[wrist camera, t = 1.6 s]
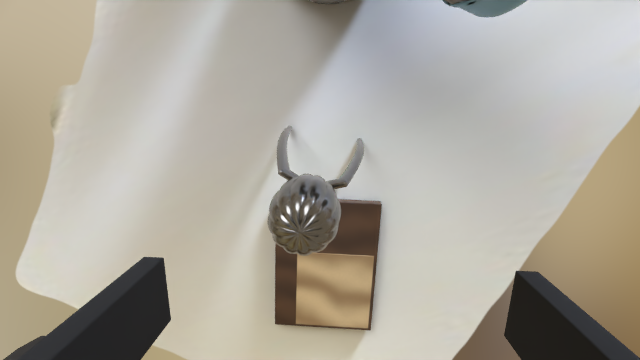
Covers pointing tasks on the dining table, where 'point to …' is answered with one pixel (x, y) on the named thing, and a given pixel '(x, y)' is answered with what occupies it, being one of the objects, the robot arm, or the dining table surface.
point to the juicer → (307, 204)
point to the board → (332, 274)
